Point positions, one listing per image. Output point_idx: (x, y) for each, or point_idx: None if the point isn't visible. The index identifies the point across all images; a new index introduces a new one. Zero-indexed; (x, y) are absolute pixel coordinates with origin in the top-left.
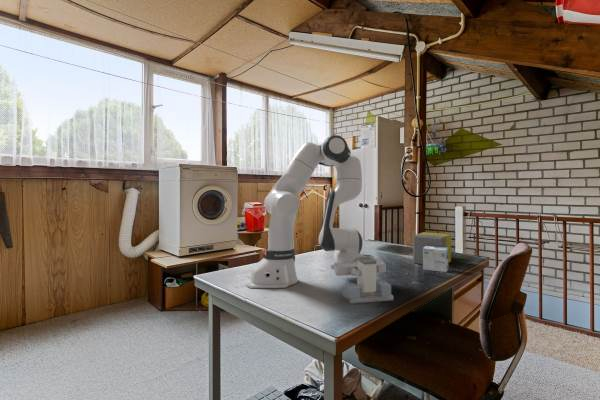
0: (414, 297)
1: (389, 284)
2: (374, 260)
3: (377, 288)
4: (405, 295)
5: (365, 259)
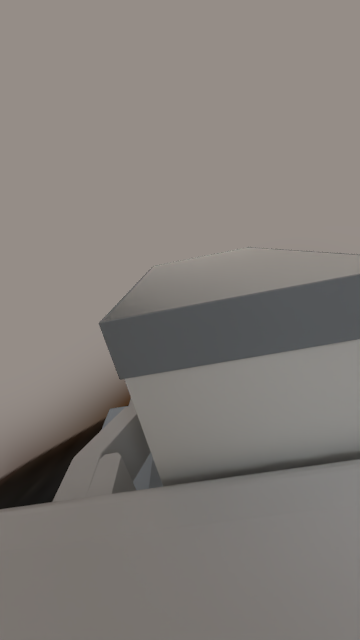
0: (27, 465)
1: (108, 418)
2: (157, 267)
3: (161, 483)
4: (28, 501)
5: (227, 261)
